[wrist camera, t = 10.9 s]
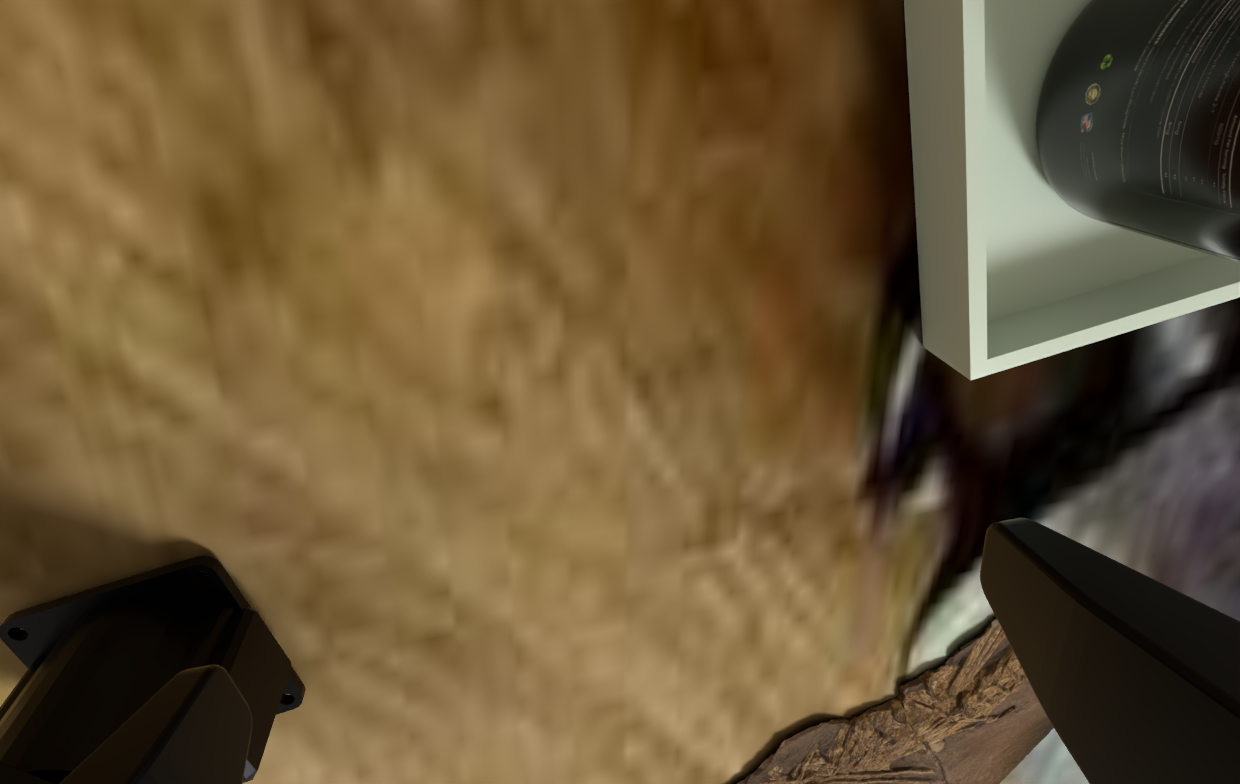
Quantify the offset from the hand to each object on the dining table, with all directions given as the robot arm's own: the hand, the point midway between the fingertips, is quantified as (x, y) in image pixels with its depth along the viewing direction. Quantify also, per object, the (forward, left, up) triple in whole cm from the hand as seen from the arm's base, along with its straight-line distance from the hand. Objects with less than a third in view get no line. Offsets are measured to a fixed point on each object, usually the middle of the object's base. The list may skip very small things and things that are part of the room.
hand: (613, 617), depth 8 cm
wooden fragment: (+7, -26, -13) cm, 30 cm away
